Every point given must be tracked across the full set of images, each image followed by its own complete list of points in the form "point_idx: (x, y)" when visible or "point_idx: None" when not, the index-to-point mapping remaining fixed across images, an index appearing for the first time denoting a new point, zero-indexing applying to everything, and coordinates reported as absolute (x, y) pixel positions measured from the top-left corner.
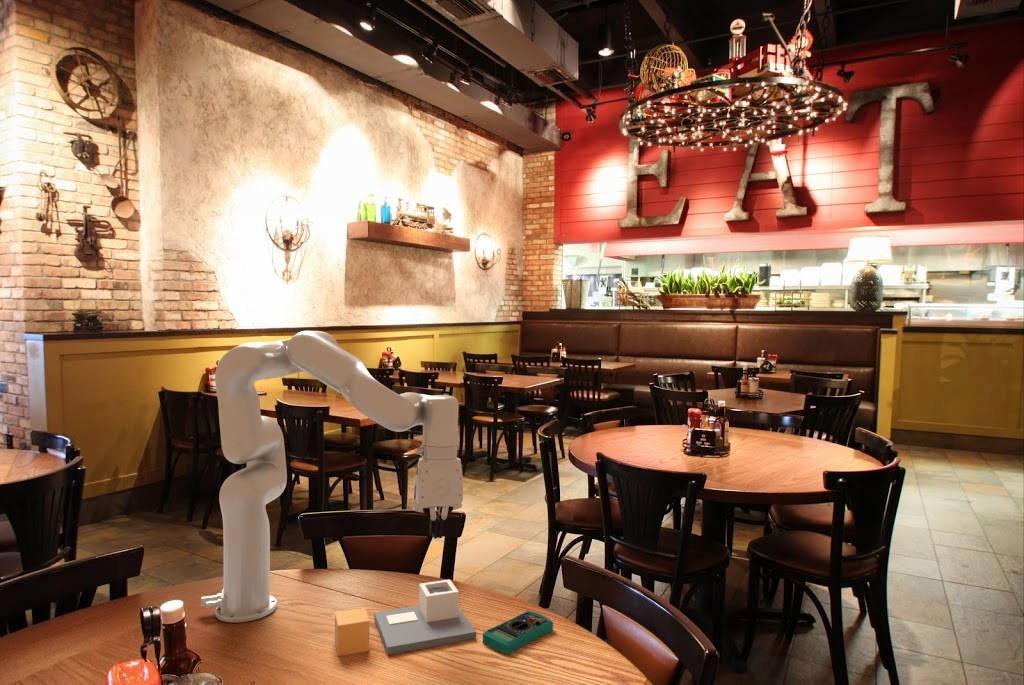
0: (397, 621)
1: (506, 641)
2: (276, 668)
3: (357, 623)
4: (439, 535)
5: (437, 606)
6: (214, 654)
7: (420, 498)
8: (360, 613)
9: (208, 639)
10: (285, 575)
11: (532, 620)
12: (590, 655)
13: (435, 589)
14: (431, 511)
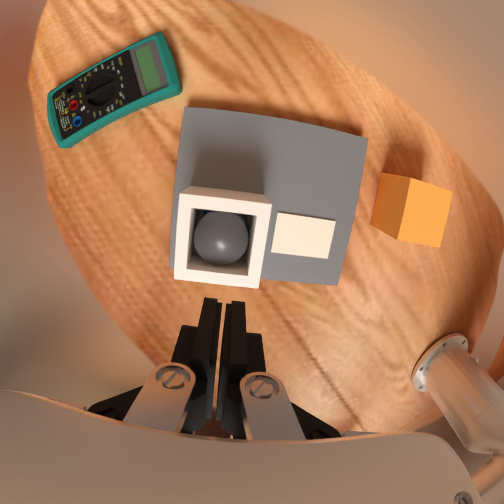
0: (318, 224)
1: (157, 36)
2: (475, 199)
3: (427, 183)
4: (217, 307)
5: (240, 195)
6: (495, 268)
7: (470, 485)
8: (412, 219)
9: (486, 305)
10: None
11: (72, 101)
12: (63, 15)
13: (223, 256)
14: (287, 426)
